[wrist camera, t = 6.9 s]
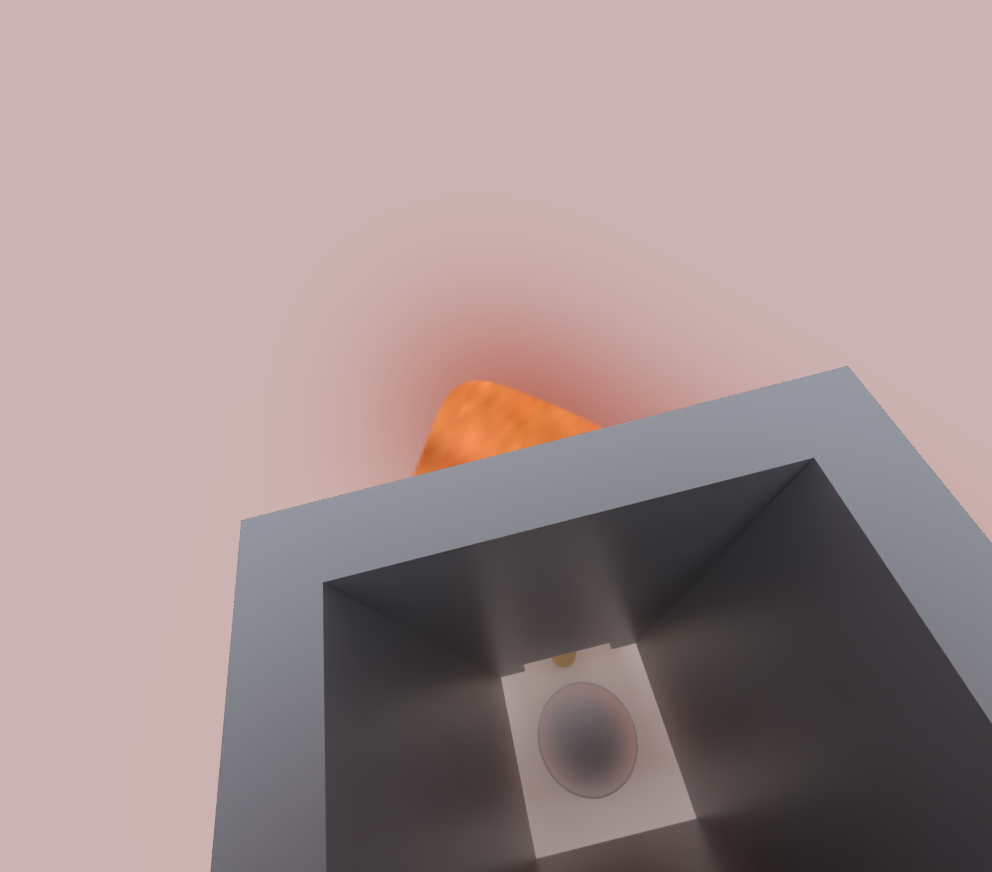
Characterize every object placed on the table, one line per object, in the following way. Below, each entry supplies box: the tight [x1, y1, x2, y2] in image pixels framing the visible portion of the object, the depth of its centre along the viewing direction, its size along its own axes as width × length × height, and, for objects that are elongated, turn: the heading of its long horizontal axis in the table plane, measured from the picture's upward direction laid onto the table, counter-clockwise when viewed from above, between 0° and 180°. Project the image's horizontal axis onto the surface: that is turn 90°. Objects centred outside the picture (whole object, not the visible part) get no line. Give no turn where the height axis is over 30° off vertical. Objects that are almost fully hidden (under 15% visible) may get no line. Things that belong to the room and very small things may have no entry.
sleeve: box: [211, 366, 992, 872], centre depth 8 cm, size 6×6×12 cm
